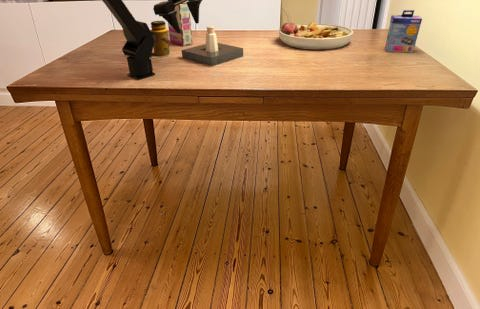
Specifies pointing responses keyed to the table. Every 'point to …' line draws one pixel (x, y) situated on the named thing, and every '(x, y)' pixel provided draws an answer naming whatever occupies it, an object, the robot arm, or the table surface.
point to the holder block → (212, 54)
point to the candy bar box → (181, 26)
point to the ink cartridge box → (403, 32)
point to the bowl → (315, 35)
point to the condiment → (160, 39)
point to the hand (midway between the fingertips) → (188, 28)
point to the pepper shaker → (211, 40)
